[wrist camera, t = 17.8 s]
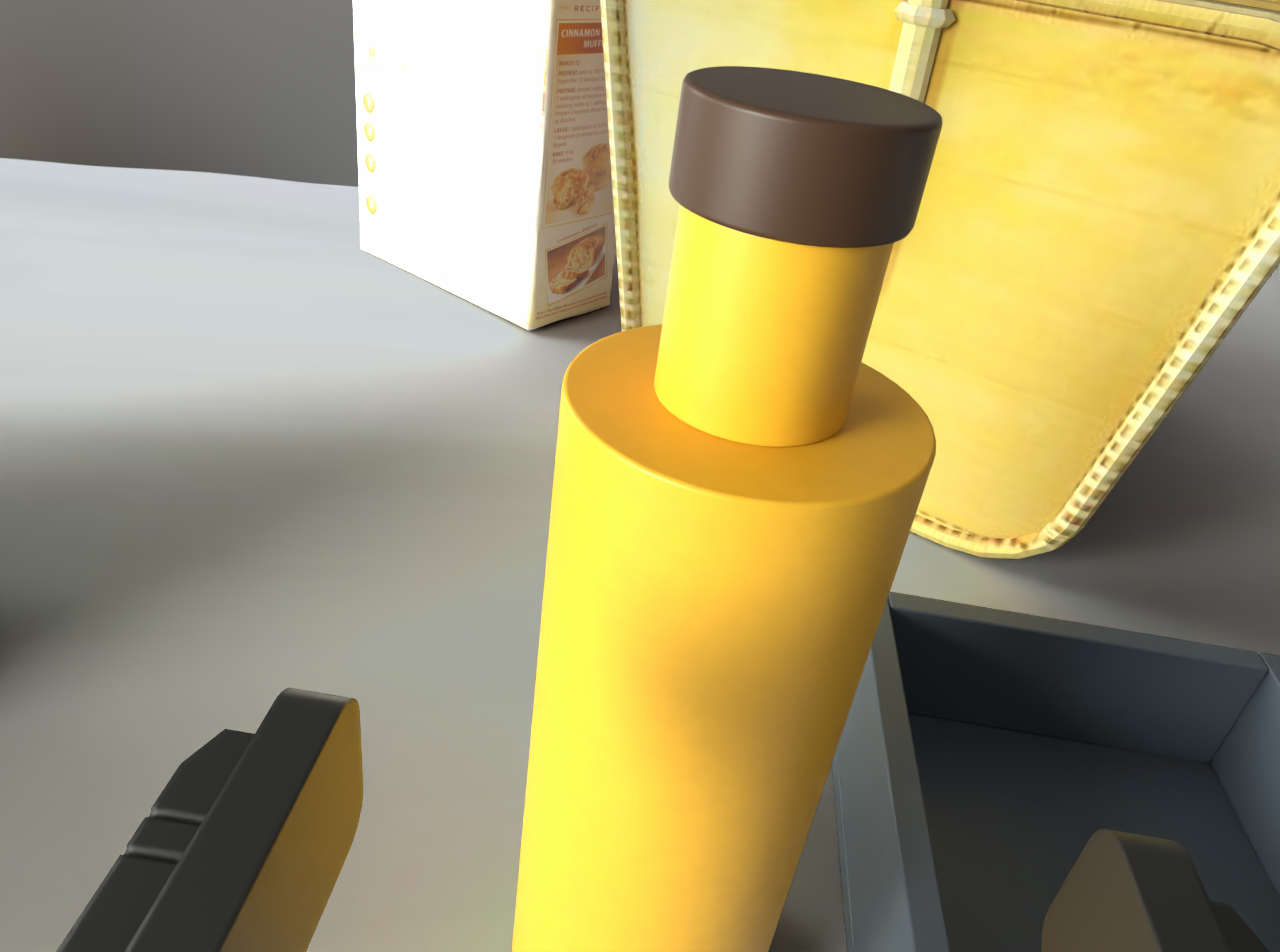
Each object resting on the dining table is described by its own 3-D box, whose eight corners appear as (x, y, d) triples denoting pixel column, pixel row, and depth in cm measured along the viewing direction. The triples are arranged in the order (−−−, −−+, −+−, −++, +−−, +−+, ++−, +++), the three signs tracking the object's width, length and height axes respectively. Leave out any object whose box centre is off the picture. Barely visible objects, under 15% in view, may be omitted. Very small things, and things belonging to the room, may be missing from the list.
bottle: (465, 925, 23) (501, 46, 12) (649, 811, 26) (798, 48, 16) (614, 1145, 19) (840, 173, 9) (804, 981, 23) (1127, 139, 12)
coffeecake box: (614, 306, 56) (658, -73, 46) (527, 335, 51) (554, -82, 41) (445, 231, 64) (450, -110, 53) (355, 250, 59) (342, -122, 48)
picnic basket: (808, 265, 67) (929, -273, 51) (1203, 394, 56) (1514, -239, 40) (545, 403, 45) (613, -458, 29) (1105, 655, 34) (1696, -492, 18)
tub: (860, 1121, 20) (920, 1004, 18) (826, 696, 31) (860, 585, 28) (1461, 1230, 20) (1607, 1125, 17) (1216, 762, 31) (1285, 655, 28)
